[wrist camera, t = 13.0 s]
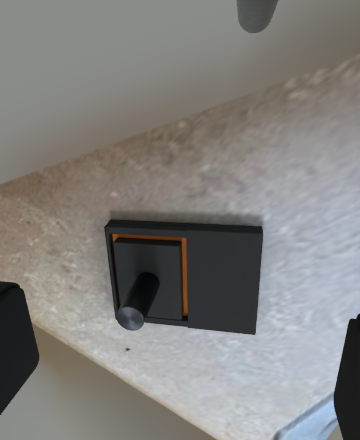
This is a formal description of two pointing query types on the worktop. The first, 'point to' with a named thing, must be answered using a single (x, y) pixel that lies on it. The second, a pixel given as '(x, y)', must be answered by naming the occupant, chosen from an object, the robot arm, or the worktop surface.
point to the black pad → (156, 263)
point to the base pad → (204, 271)
